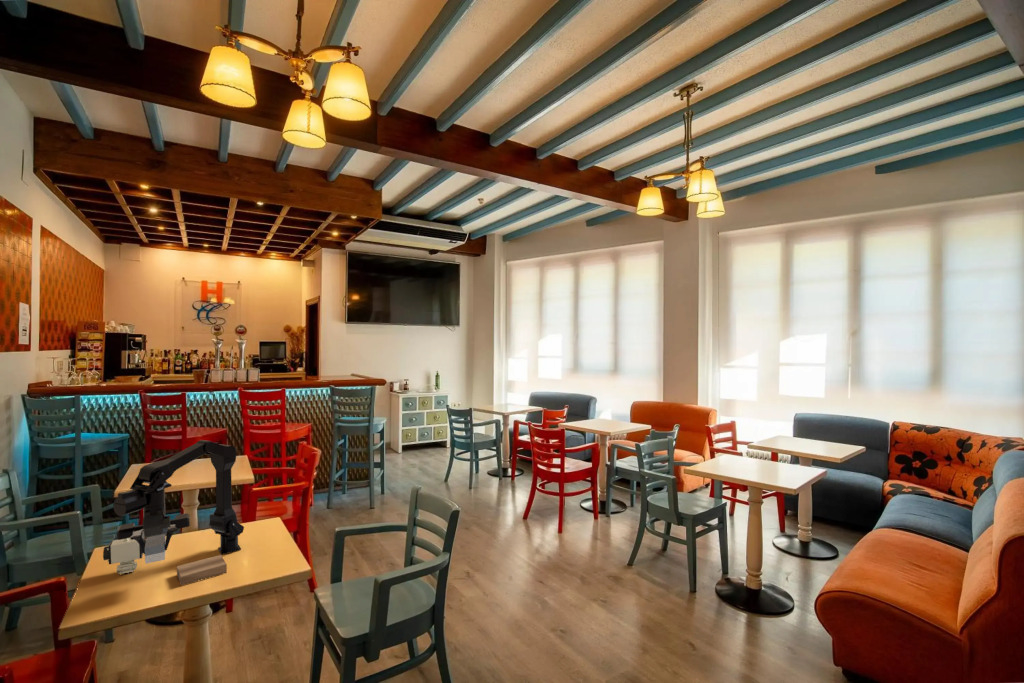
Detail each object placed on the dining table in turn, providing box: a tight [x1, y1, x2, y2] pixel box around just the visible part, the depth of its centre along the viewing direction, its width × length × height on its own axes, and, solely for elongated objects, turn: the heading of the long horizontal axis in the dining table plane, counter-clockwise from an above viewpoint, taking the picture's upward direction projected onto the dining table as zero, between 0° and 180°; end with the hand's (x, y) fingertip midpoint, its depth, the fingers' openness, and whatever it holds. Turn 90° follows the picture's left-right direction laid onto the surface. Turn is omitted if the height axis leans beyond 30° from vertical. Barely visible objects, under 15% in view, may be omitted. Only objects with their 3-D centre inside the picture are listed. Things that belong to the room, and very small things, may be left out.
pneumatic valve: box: [102, 537, 146, 575], centre depth 169 cm, size 6×12×12 cm, turn 120°
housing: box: [144, 533, 167, 565], centre depth 160 cm, size 9×5×5 cm, turn 33°
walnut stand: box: [176, 554, 228, 586], centre depth 168 cm, size 9×13×3 cm
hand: (155, 552), depth 160 cm, fingers closed on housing, 5 cm apart
